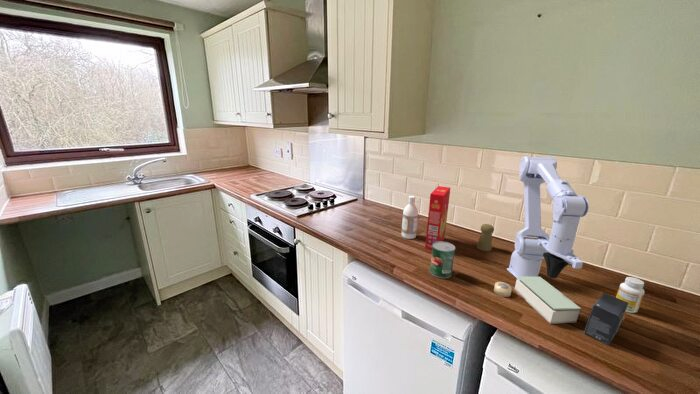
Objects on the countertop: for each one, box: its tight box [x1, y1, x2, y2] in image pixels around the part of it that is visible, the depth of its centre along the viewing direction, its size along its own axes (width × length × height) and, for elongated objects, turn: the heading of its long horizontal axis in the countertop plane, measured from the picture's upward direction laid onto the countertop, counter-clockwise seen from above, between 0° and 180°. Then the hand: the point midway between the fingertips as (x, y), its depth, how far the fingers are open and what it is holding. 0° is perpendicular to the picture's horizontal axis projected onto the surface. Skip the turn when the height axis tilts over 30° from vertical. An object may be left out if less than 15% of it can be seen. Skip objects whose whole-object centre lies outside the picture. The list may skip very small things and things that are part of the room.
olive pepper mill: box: [476, 223, 495, 252], centre depth 123 cm, size 6×6×11 cm
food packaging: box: [424, 185, 451, 251], centre depth 125 cm, size 15×5×25 cm, turn 151°
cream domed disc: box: [493, 281, 513, 298], centre depth 94 cm, size 5×5×2 cm
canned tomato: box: [429, 240, 456, 279], centre depth 104 cm, size 8×8×11 cm
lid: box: [518, 276, 582, 311], centre depth 87 cm, size 16×8×1 cm, turn 5°
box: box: [583, 292, 628, 346], centre depth 76 cm, size 9×6×10 cm, turn 126°
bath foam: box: [401, 195, 419, 240], centre depth 133 cm, size 7×7×20 cm
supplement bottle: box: [615, 276, 645, 314], centre depth 86 cm, size 5×5×10 cm
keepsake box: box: [513, 278, 580, 325], centre depth 88 cm, size 16×8×4 cm, turn 5°
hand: (551, 276), depth 86 cm, fingers closed
